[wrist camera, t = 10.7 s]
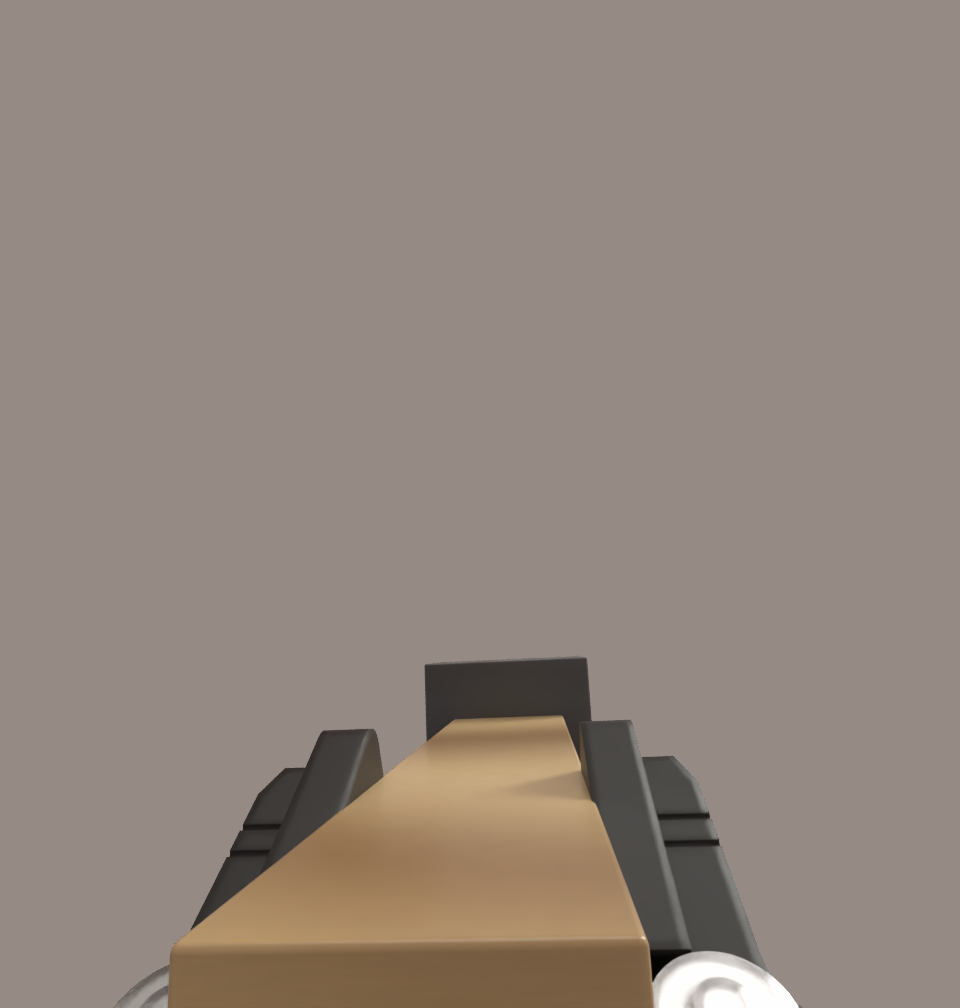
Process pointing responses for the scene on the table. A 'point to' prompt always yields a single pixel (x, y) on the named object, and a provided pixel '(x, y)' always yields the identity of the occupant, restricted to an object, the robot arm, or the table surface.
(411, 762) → the mallet
